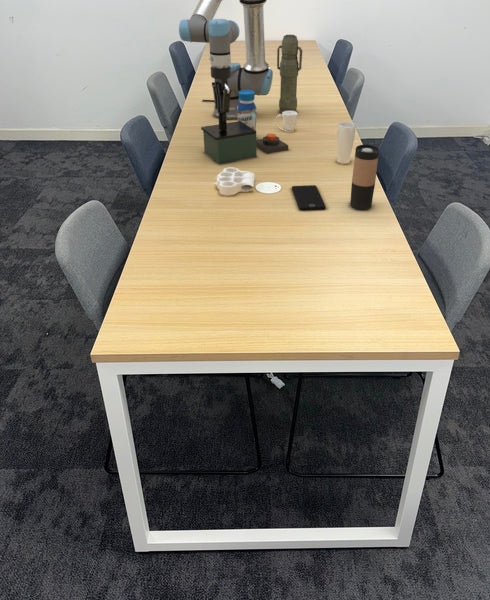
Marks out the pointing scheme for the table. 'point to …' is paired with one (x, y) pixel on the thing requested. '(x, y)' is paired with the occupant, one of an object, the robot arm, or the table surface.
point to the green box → (230, 148)
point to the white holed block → (234, 181)
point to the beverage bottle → (247, 108)
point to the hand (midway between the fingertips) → (222, 129)
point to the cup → (288, 120)
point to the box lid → (228, 130)
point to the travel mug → (364, 176)
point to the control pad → (271, 145)
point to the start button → (271, 137)
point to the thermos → (289, 72)
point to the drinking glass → (345, 141)
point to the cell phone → (308, 197)
